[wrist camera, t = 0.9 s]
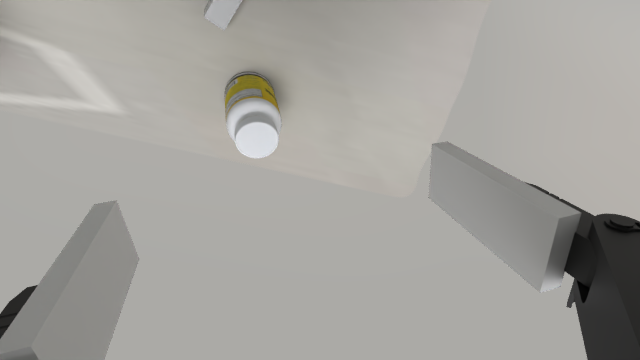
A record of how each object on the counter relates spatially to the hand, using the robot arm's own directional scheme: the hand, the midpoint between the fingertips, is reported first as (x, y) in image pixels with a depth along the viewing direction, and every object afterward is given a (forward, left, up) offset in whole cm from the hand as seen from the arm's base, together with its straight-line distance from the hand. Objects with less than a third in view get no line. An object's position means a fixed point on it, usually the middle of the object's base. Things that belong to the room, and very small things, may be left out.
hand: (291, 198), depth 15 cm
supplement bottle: (+7, +4, -26) cm, 28 cm away
